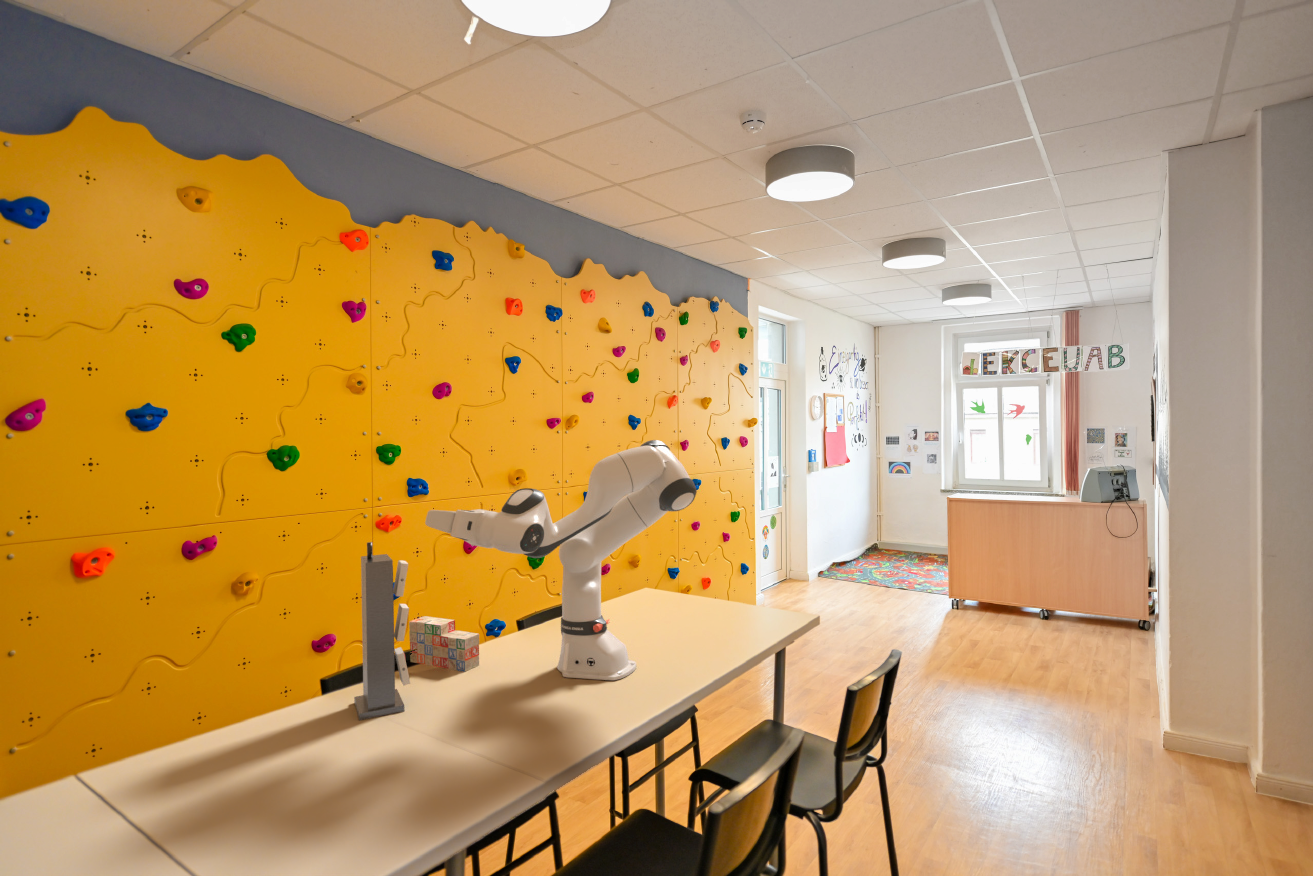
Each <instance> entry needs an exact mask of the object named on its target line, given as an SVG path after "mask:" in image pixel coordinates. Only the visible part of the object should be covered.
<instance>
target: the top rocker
mask: <svg viewBox="0 0 1313 876" xmlns="http://www.w3.org/2000/svg"><path fill="white" fill-rule="evenodd" d="M408 569H409V563H408V562H407V561H406V560H402V559H401V560H398V561H397V565H396V574H395V580H394V583H393V595H395V597H404V593H405V586H406V579H407V574H408Z"/></svg>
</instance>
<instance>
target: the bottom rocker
mask: <svg viewBox="0 0 1313 876" xmlns="http://www.w3.org/2000/svg"><path fill="white" fill-rule="evenodd" d="M394 657H395V659H396V660H395V662H396V664H397V669H398V673H399V679H400V681H401V684H402V685H403V687H405V686H407V685H410V684H411V681H410V675H409V671H408V670H409V669H408V666H407V662H406V653H405V651H403V648H402V647H401V646H400V647H397V648H394Z"/></svg>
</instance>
